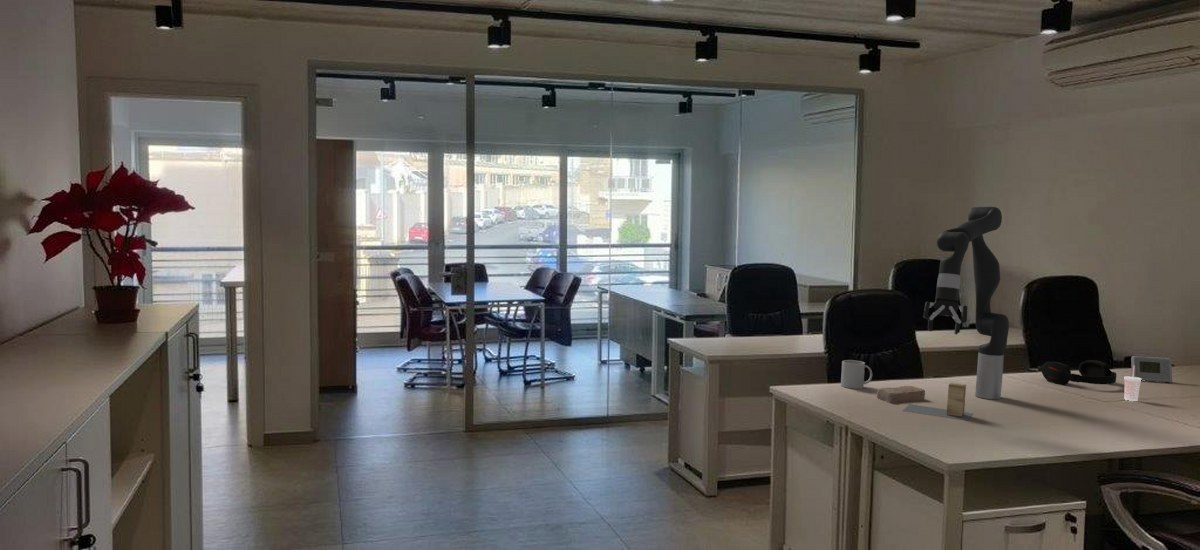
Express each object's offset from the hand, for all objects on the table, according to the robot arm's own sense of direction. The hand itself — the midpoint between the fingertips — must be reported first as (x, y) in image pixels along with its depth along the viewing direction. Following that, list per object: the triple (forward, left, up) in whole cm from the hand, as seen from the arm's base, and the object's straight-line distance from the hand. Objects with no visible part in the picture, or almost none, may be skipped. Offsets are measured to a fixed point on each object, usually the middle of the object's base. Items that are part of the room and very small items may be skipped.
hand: (943, 332), depth 312 cm
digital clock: (-130, +66, -30) cm, 148 cm away
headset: (-104, +38, -30) cm, 115 cm away
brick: (-16, -16, -30) cm, 38 cm away
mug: (-28, -37, -30) cm, 55 cm away
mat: (-2, 0, -29) cm, 29 cm away
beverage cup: (-77, +59, -30) cm, 101 cm away
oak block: (-2, +6, -29) cm, 30 cm away
